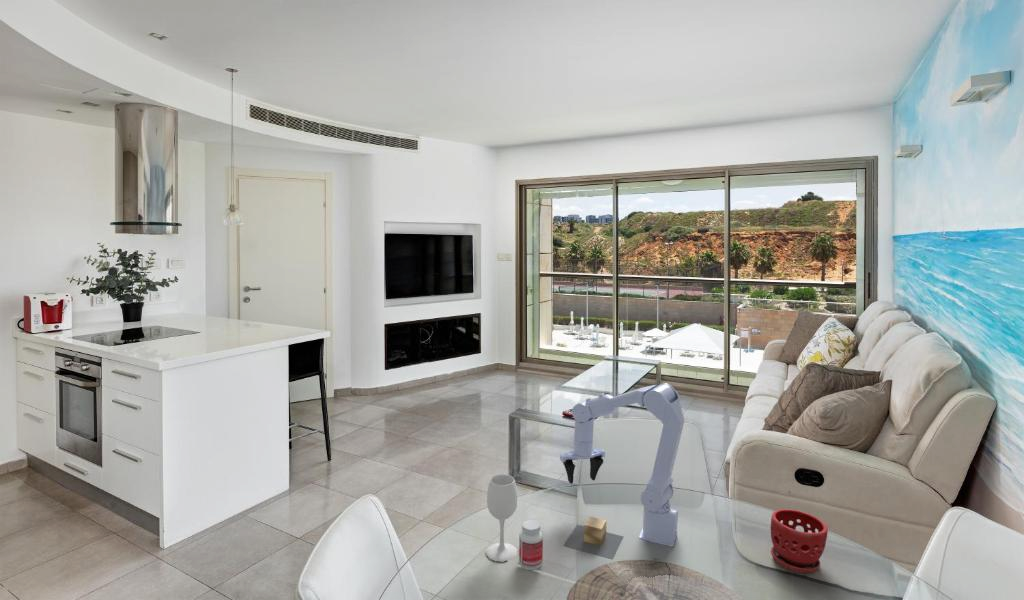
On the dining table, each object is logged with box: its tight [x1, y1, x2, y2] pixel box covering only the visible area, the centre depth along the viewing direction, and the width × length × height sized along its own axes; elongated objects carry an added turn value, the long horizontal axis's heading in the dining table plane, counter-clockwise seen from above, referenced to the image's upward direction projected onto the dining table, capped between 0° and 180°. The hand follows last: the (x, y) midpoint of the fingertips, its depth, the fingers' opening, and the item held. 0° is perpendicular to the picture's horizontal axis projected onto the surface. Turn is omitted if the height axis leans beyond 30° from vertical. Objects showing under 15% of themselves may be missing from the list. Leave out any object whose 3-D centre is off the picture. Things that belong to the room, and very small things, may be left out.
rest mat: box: [562, 524, 625, 560], centre depth 152 cm, size 14×12×1 cm
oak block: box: [583, 516, 608, 546], centre depth 153 cm, size 5×5×5 cm
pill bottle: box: [518, 519, 544, 571], centre depth 141 cm, size 6×6×11 cm
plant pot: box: [770, 508, 829, 574], centre depth 143 cm, size 13×13×12 cm
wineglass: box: [485, 473, 518, 562], centre depth 145 cm, size 9×9×21 cm
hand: (581, 480), depth 169 cm, fingers open, 7 cm apart
